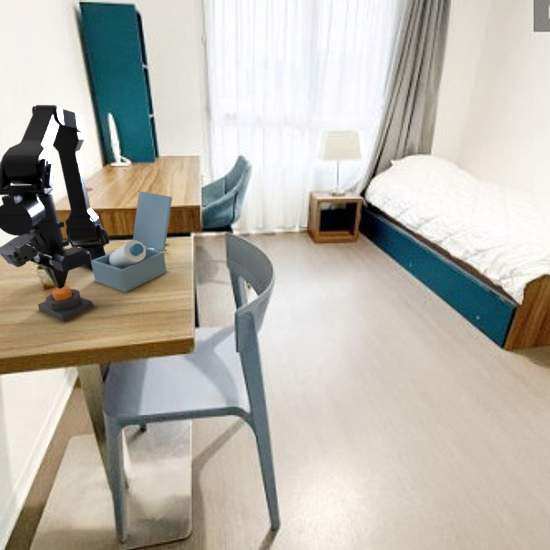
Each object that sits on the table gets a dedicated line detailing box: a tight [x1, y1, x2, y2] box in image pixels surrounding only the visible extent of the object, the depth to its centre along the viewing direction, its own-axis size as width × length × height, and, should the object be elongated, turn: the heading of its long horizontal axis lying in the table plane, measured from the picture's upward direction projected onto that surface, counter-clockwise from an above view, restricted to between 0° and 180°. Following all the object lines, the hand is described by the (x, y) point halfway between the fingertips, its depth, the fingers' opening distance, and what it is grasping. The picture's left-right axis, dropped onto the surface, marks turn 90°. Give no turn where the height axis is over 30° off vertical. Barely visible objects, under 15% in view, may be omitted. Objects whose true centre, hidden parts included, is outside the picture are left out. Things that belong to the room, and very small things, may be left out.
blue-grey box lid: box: [132, 190, 173, 252], centre depth 99 cm, size 14×12×1 cm
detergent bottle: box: [109, 239, 146, 269], centre depth 93 cm, size 5×5×13 cm
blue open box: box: [91, 247, 167, 293], centre depth 96 cm, size 14×12×6 cm
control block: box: [37, 288, 94, 323], centre depth 81 cm, size 9×7×4 cm
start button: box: [51, 286, 72, 301], centre depth 80 cm, size 4×4×2 cm
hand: (60, 287), depth 80 cm, fingers closed
